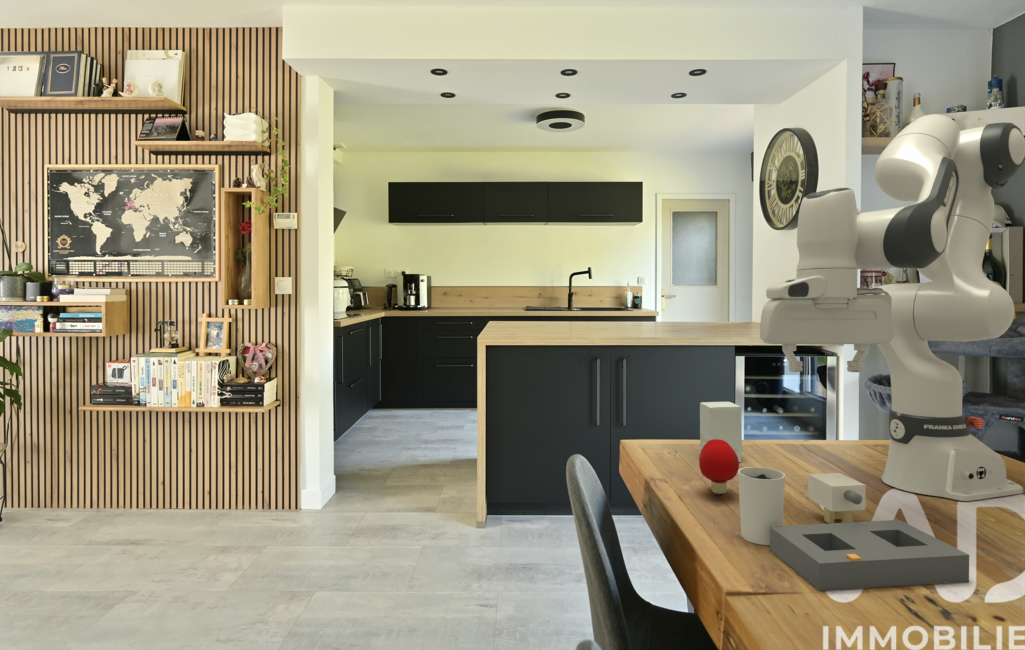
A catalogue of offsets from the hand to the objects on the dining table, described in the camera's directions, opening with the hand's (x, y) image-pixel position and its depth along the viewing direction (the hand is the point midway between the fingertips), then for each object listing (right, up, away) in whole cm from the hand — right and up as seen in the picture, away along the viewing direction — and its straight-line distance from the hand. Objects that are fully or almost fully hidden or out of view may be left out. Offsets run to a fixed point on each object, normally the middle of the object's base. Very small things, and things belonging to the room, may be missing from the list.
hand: (825, 371), depth 96 cm
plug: (+1, -24, -2) cm, 25 cm away
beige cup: (-13, -25, -6) cm, 29 cm away
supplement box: (-4, -23, +38) cm, 45 cm away
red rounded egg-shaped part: (-13, -24, +13) cm, 31 cm away
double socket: (-4, -25, -16) cm, 30 cm away
